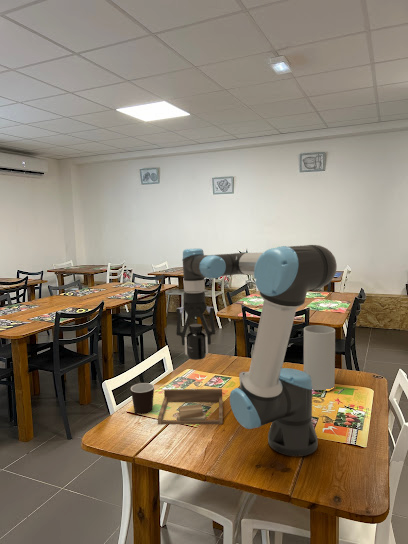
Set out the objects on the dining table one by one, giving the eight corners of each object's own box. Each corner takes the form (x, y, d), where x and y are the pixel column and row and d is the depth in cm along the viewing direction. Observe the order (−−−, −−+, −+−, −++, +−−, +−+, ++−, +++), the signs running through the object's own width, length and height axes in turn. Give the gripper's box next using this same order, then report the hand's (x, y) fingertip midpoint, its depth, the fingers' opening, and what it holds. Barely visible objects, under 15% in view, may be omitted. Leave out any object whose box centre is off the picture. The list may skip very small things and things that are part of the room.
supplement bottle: (184, 359, 143) (183, 327, 142) (190, 353, 149) (189, 322, 148) (203, 360, 141) (201, 327, 140) (208, 354, 147) (207, 323, 146)
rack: (222, 427, 136) (222, 410, 135) (158, 427, 137) (157, 411, 136) (222, 403, 154) (222, 388, 153) (165, 404, 155) (164, 389, 154)
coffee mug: (148, 420, 142) (147, 393, 141) (127, 417, 145) (126, 391, 144) (162, 406, 153) (161, 381, 152) (142, 403, 156) (141, 379, 155)
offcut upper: (202, 416, 138) (202, 408, 138) (180, 418, 137) (179, 411, 137) (201, 411, 142) (201, 404, 141) (179, 414, 140) (178, 406, 140)
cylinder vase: (297, 385, 169) (297, 328, 166) (317, 378, 175) (317, 324, 172) (320, 395, 158) (321, 335, 155) (340, 388, 165) (341, 329, 162)
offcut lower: (205, 425, 138) (205, 417, 138) (177, 425, 138) (176, 417, 138) (205, 420, 141) (205, 412, 141) (178, 420, 142) (177, 412, 142)
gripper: (221, 289, 146) (223, 349, 148) (168, 290, 146) (171, 350, 149) (222, 292, 138) (223, 355, 141) (166, 293, 139) (168, 357, 141)
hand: (196, 353), depth 145 cm, fingers closed on supplement bottle, 7 cm apart
